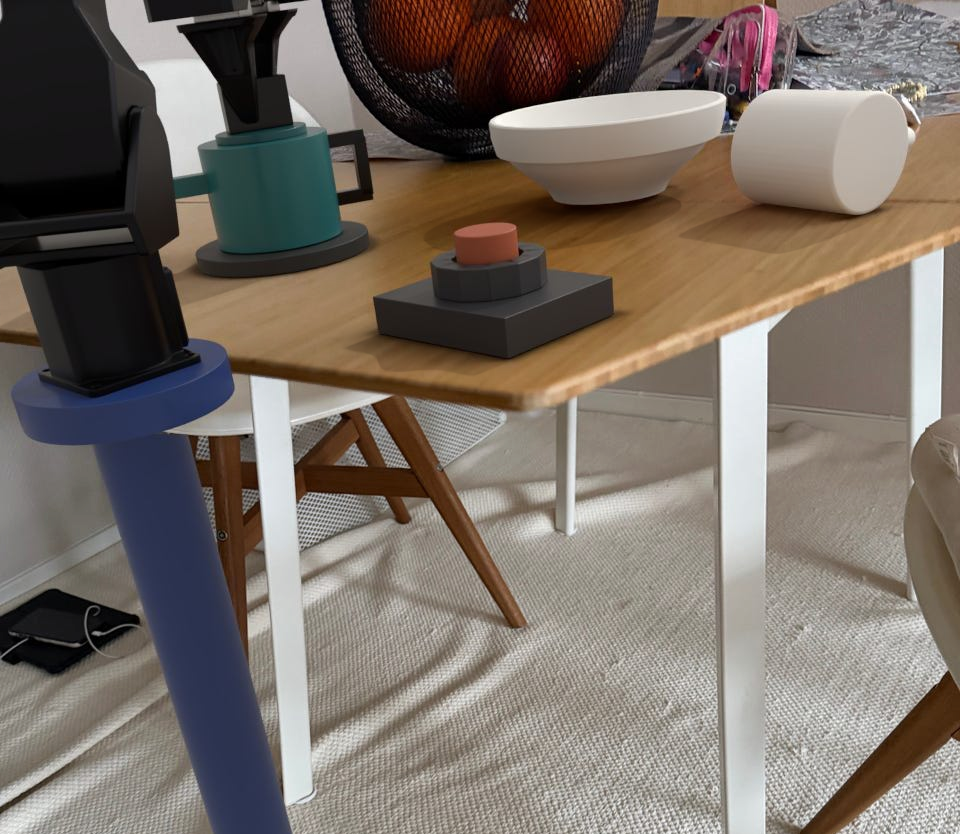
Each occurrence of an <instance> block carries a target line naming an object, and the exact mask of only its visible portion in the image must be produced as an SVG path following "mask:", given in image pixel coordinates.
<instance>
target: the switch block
mask: <svg viewBox="0 0 960 834" xmlns="http://www.w3.org/2000/svg"><path fill="white" fill-rule="evenodd" d="M518 252H519V257H516V258H513V259H510V260H506V261H500V262H494V263H489V264H472V265H466V264H458V263H457V259H456V251H455V248H453V249H452V250H451V249H450V250H447V251H443V252H441V253H439V254H437V255H436V256H435V257H434V258H433V259H431V261H429V267H430V274H431V276H430V277H427V278H425V279H424V278H423V279H421V280H418V281H415V282H412V283H409V284H406V285H403V286H400V287H397V288H395V289H392V290H388V291H386V292H383V293H380V294H377V295H373V296H372V301H373V309H374V313H375V314H374V315H375V320H376V327H377V333H378V334H381V335H384V336H385V335H386V336H391V337H396V338H402V339H406V340H411V341H416V342H422V343H427V344H432V345H437V346H442V347H447V348H452V349H457V350H463V351H467V352H472V353H477V354H483V355H487V356H493V357H497V358H502V359H507V360H509V359H512V358H514V357H516V356H518V355H520V354H524V353H526V352H527V351H530V350H533V349H535V348H538V347H539V346H542V345H545V344H547V343H550V342H552V341H554V340H556V339H559V338H561V337H564V336H566V335H568V334H571V333H573V332H575V331H578V330H580V329H582V328H585V327H587V326H589V325H592V324H594V323H595V324H596V323H597V322H599V321H602V320H604V319H607V318H609V317H611V316H613V315H615V307H614V306H615V305H614V282H613V281H614V280H613V276H612V275H611V276H610V275H602V274H593V273H586V272H577V271H571V270H560V269H553V268H548V266H547V265H548V264H547V254H546V253H547V252H546V248H545V247H543V246H542V245H540V244H538V243H536V242H535V243H534V242H525V241H518Z"/></svg>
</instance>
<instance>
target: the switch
mask: <svg viewBox="0 0 960 834" xmlns="http://www.w3.org/2000/svg"><path fill="white" fill-rule="evenodd" d="M453 241H454V249H455V251H456V259H457V263H458V264H466V265H472V264H489V263H494V262H500V261H506V260H510V259H513V258H516V257H519V252H518V242H519V241H518V231H517V226H516V225H515V224H513V223H510V222H486V223H478V224H472V225H467V226H465V227H462V228H459V229H457V230H455V231H454V232H453Z"/></svg>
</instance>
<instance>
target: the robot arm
mask: <svg viewBox="0 0 960 834" xmlns="http://www.w3.org/2000/svg"><path fill="white" fill-rule="evenodd" d="M308 1H309V0H142V2H143V6H144V9H145V14H146V18H147V22H148V24H151V23H158V22H165V21H167V22H168V21H173V20H181V19H188V18H192V19H193V22H190V23H184V24H178V25H176V26H175V27H176V30H177V33H179V34H182V35H183V36H184V38H185V39H186V40H187V41H188V43H189V44H190V46H191V47H192V48H193V50H194V52H195V53H196V54H197V55H198V57H199V58H200V59H201V61H202V62H203V63H204V65H205V67H206V68H207V70H208V71H209V72H210V74H211V76H212V77H213V78H214V79H215V81H216V83H218V84H219V85H220V87H221V89H222V90H223V92H224V93H225V95H226V96H227V98H228V99H229V101H230V102H231V104H232V105H233V107H234V108H235V110H236V111H237V113H238V114H239V116H240V117H241V119H242V120H243V122H244V123H245V124H253V123H257V122H258V121H259V102H258V89H257V77H260V76H267V75H273V74H278V61H279V60H278V59H279V49H280V48H279V47H280V39H281V36H282V33H283V32H284V31H285V29H286V28H287V26H288V25H289V23H290V21H292V19H293V18H294V17H296V15H297V14H298V10H299V8H297V7H296V8H289V9H281V7H280V5H284V4H290V3H291V4H293V3H298V2H299V3H300V2H308ZM0 14H1V17H0V271H1V270H3V269H5V268H10V267H11V268H12V267H16V270H17V273H18V276H19V279H20V283H21V286H22V288H23V292H24V295H25V298H26V302H27V305H28V308H29V311H30V313H31V317H32V320H33V323H34V327H35V329H36V332H37V336H38V338H39V342H40V345H41V348H42V351H43V355H44V358H45V360H46V363H47V364H46V365H48V368H44V369H42V370H39V371H38V372H37V373H38V376H39V379H40V380H41V381H43V382H46V383H49V384H52V385H55V386H58V387H61V388H63V389H66V390H69V391H72V392H75V393H78V394H81V395H83V396H86V397H89V398H97V397H102V396H105V395H108V394H111V393H114V392H116V391H119V390H122V389H125V388H128V387H131V386H134V385H137V384H140V383H143V382H146V381H149V380H151V379H154V378H157V377H160V376H163V375H166V374H169V373H172V372H175V371H178V370H181V369H183V368H186V367H189V366H192V365H195V364H198V363H200V362H201V361H202V360H201V356H200V353H199V352H195V351H192V350H188V349H184V347H187V346H188V344H189V338H190V337H189V334H188V329H187V326H186V322H185V318H184V314H183V310H182V306H181V302H180V298H179V294H178V290H177V287H176V281H175V278H174V275H173V271H172V269H171V268H170V267H167V266H164V265H163V263H162V259H161V254H160V250H161V249H163V248H164V247H166V246H167V245H168V244H169V243H171V242H172V241H175V239H177V238H178V237H180V224H179V218H178V209H177V208H178V207H177V199H175V191H174V182H173V177H174V175H173V166H172V157H171V149H170V145H169V140H168V136H167V133H166V130H165V126H164V124H163V122H162V119H161V118H160V115H159V114H158V107H157V93H156V92H157V91H156V87H155V85H154V84H153V83H154V82H152V80H151V78H150V77H149V75H148V73H146V72H145V70H143V69H140V68H139V67H138V66H137V64H136V63H135V61H134V59H133V58H132V57H131V56H130V54H129V53H128V52H127V50H126V48H125V47H124V46H123V44H122V43H121V41H119V39H118V37H117V36H116V35H115V33H114V32H113V30H112V29H111V27H110V22H109V16H108V9H107V3H106V0H0Z"/></svg>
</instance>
